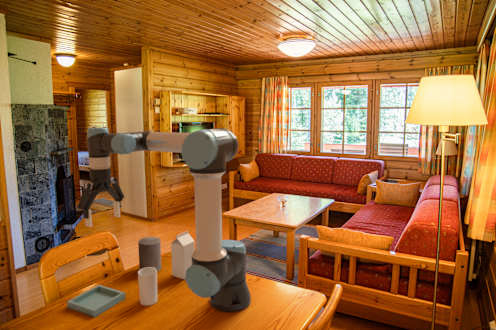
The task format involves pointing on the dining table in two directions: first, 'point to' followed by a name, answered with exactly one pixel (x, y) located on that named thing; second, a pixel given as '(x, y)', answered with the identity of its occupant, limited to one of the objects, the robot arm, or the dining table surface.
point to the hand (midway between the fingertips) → (103, 221)
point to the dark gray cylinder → (150, 253)
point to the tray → (96, 300)
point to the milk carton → (182, 254)
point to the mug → (147, 285)
